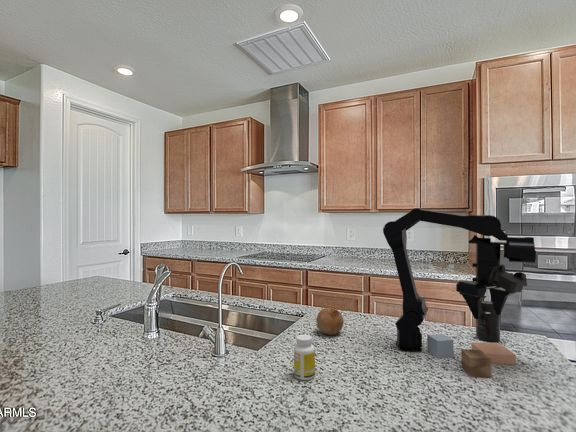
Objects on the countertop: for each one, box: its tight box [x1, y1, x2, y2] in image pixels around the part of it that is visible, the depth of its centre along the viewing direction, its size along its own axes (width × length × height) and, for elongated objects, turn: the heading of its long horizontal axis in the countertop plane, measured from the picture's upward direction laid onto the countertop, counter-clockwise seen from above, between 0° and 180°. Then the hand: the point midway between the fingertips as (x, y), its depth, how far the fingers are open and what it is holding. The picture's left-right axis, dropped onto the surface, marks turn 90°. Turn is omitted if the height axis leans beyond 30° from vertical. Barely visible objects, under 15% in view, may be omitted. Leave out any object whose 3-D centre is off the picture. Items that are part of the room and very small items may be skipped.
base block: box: [470, 341, 517, 365], centre depth 91 cm, size 8×8×3 cm
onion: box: [315, 307, 345, 336], centre depth 111 cm, size 10×9×10 cm
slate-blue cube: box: [426, 333, 454, 359], centre depth 94 cm, size 5×5×5 cm
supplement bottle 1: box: [293, 334, 316, 381], centre depth 81 cm, size 5×5×10 cm
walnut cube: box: [460, 348, 492, 379], centre depth 82 cm, size 5×5×5 cm
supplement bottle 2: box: [475, 300, 501, 343], centre depth 105 cm, size 7×7×12 cm
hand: (487, 316), depth 87 cm, fingers open, 9 cm apart
